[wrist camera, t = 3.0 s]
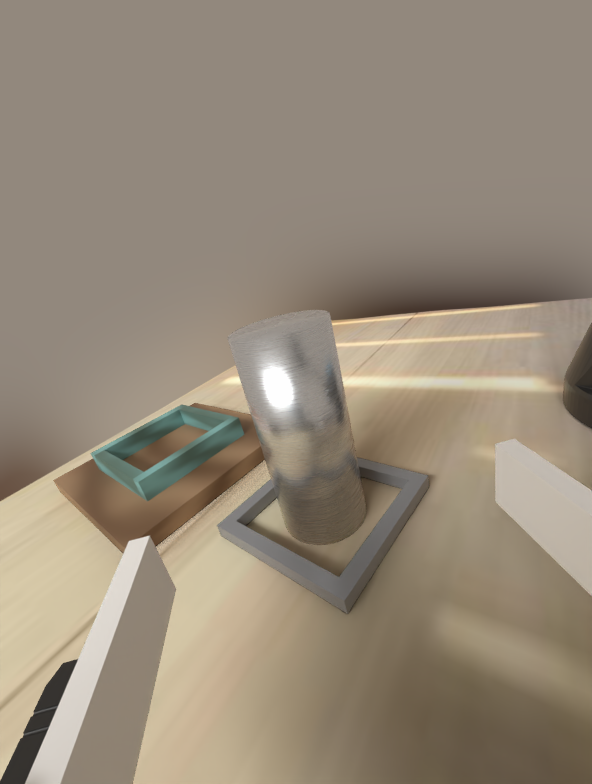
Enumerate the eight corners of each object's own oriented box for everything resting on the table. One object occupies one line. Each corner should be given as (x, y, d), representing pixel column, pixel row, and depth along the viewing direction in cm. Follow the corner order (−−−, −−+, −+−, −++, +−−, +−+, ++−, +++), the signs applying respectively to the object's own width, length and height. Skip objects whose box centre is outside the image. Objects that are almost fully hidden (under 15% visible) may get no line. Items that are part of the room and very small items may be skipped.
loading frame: (312, 454, 33) (309, 445, 32) (429, 486, 25) (428, 475, 25) (221, 535, 25) (216, 525, 25) (347, 613, 18) (344, 601, 18)
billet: (317, 476, 29) (276, 313, 24) (381, 498, 25) (350, 307, 20) (268, 524, 25) (207, 342, 20) (335, 558, 21) (281, 342, 16)
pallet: (198, 412, 48) (190, 389, 47) (294, 435, 37) (286, 406, 35) (60, 491, 37) (43, 464, 36) (133, 563, 25) (113, 526, 24)
